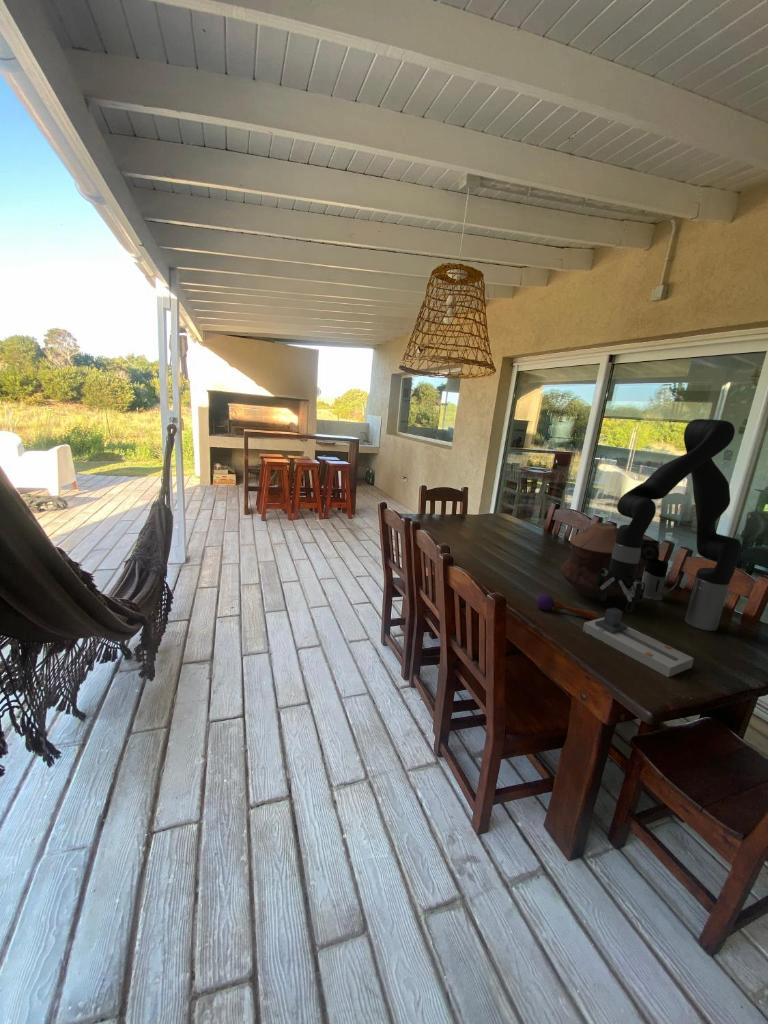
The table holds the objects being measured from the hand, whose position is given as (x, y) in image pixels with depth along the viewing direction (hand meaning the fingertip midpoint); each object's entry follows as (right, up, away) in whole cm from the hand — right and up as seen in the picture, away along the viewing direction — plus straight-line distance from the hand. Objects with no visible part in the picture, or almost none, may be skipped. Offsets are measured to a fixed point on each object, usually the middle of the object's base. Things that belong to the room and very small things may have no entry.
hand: (615, 605), depth 131 cm
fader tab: (0, -7, +2) cm, 8 cm away
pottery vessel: (+10, -4, +34) cm, 36 cm away
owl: (+46, -1, +57) cm, 74 cm away
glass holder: (+37, -5, +35) cm, 51 cm away
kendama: (-9, -7, +17) cm, 20 cm away
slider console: (+3, -12, -4) cm, 13 cm away
